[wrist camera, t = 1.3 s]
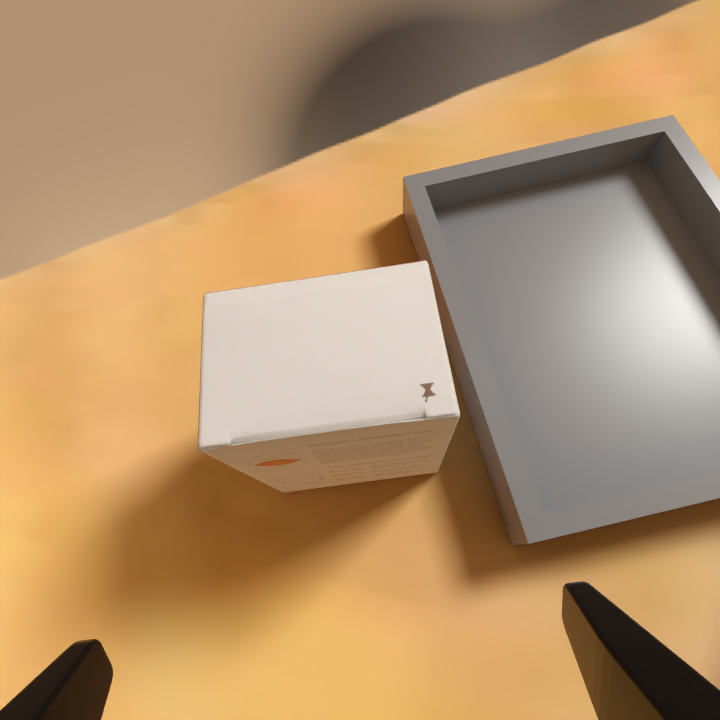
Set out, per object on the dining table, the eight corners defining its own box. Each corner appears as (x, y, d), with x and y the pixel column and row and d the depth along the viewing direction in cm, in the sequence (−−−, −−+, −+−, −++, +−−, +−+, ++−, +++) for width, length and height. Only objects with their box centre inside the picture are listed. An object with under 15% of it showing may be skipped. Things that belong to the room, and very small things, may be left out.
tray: (846, 465, 21) (912, 451, 19) (512, 545, 21) (528, 543, 19) (647, 156, 29) (673, 115, 27) (403, 212, 29) (403, 177, 27)
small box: (421, 371, 25) (434, 254, 15) (439, 475, 23) (468, 415, 13) (275, 390, 25) (198, 286, 16) (279, 495, 23) (192, 451, 13)
